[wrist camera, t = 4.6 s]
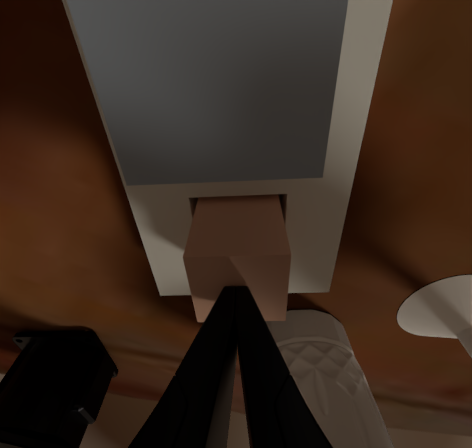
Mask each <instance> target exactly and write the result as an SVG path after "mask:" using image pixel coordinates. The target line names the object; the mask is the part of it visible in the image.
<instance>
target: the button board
mask: <svg viewBox="0 0 472 448" xmlns="http://www.w3.org/2000/svg"><path fill="white" fill-rule="evenodd" d="M62 2H63V5H64V8H65V11H66V14H67V17H68V20H69V23H70V26H71V29H72V32H73V35H74V38H75V41H76V44H77V47H78V50H79V53H80V56H81V59H82V62H83V65H84V68H85V71H86V74H87V77H88V80H89V83H90V86H91V89H92V92H93V95H94V98H95V101H96V104H97V107H98V110H99V113H100V116H101V119H102V122H103V125H104V128H105V131H106V134H107V137H108V140H109V143H110V146H111V149H112V152H113V155H114V158H115V161H116V164H117V167H118V170H119V173H120V176H121V179H122V182H123V185H124V188H125V191H126V194H127V197H128V200H129V203H130V206H131V209H132V212H133V215H134V218H135V221H136V224H137V227H138V230H139V233H140V236H141V239H142V242H143V245H144V248H145V251H146V254H147V257H148V260H149V263H150V266H151V269H152V272H153V275H154V278H155V281H156V284H157V287H158V290H159V293H160V296H169V295H191V292H190V287H189V283H188V279H187V274H186V270H185V266H184V261H183V254H184V250H185V247H186V243H187V239H188V235H189V231H190V228H191V224H192V220H193V216H194V213H195V209H196V205H197V201H198V197H218V196H244V195H270V194H279V200H280V205H281V209H282V214H283V219H284V223H285V228H286V232H287V237H288V241H289V246H290V251H291V264H290V276H289V288H288V293H311V292H329V290H330V285H331V281H332V276H333V271H334V267H335V262H336V258H337V253H338V249H339V244H340V239H341V235H342V230H343V226H344V221H345V217H346V212H347V207H348V203H349V198H350V194H351V189H352V184H353V180H354V175H355V171H356V166H357V162H358V157H359V152H360V148H361V143H362V139H363V134H364V130H365V125H366V120H367V116H368V111H369V107H370V102H371V98H372V93H373V88H374V84H375V79H376V75H377V70H378V66H379V61H380V56H381V52H382V47H383V43H384V38H385V34H386V29H387V24H388V20H389V15H390V11H391V6H392V2H393V0H348V6H347V13H346V20H345V27H344V34H343V41H342V48H341V55H340V61H339V68H338V75H337V82H336V89H335V96H334V103H333V110H332V117H331V124H330V131H329V138H328V144H327V151H326V158H325V165H324V172H323V178H301V179H277V180H253V181H228V182H204V183H180V184H156V185H132V186H127V185H126V182H125V179H124V176H123V172H122V169H121V166H120V163H119V160H118V157H117V154H116V151H115V148H114V145H113V142H112V139H111V136H110V132H109V129H108V126H107V123H106V120H105V117H104V114H103V111H102V108H101V105H100V102H99V99H98V96H97V92H96V89H95V86H94V83H93V80H92V77H91V74H90V71H89V68H88V65H87V62H86V59H85V56H84V53H83V49H82V46H81V43H80V40H79V37H78V34H77V31H76V28H75V25H74V22H73V19H72V16H71V13H70V9H69V6H68V3H67V0H62Z"/></svg>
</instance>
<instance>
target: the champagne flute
mask: <svg viewBox="0 0 472 448" xmlns="http://www.w3.org/2000/svg"><path fill="white" fill-rule="evenodd" d="M397 321H398V324H399V325H400V327H401V328H403V329H404V330H405V331H407V332H409V333H412V334H415V335H421V336H432V337H446V338H458V339H459V341H460V342H461V343H462V345H463V346H464V348H465V349H466V351H467V352H468V353H469V355H470V356H471V358H472V275H462V276H454V277H450V278H446V279H442V280H439V281H437V282H434V283H431V284H429V285H427V286H425V287H423V288H421V289H420V290H418V291H416V292H415V293H413V294H412V295H411V296H410V297H409V298H407V299H406V300H405V301H404V303H403V304H402V305H401V307H400V309H399V310H398V314H397Z"/></svg>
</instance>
